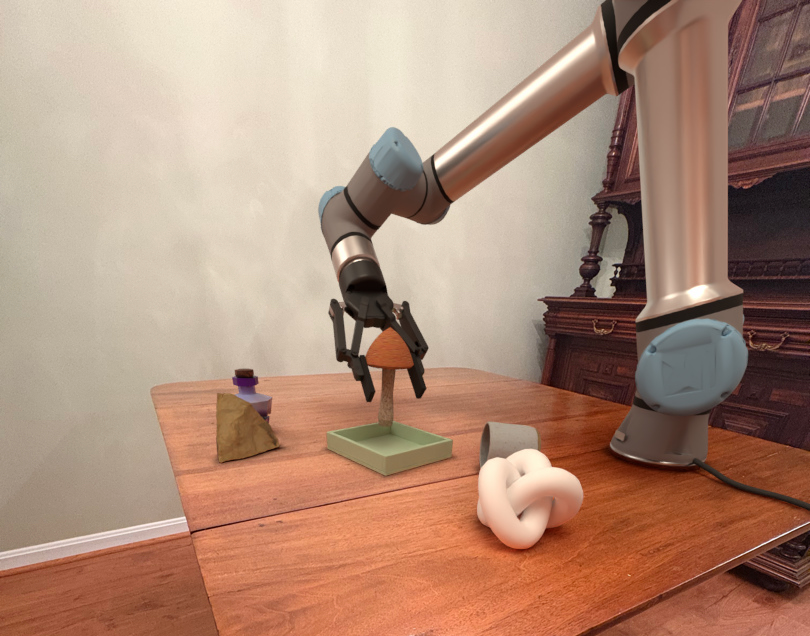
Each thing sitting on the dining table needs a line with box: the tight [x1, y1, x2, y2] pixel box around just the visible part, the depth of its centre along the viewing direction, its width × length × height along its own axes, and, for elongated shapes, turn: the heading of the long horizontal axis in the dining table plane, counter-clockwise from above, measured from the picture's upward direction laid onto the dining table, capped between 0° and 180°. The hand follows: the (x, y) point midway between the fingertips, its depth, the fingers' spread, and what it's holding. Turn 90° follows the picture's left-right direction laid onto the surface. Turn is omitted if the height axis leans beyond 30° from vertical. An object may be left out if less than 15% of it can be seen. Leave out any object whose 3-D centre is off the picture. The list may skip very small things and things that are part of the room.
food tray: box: [325, 420, 454, 477], centre depth 73 cm, size 17×15×3 cm
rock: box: [215, 392, 281, 464], centre depth 71 cm, size 11×9×10 cm
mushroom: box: [365, 327, 414, 427], centre depth 68 cm, size 8×8×15 cm
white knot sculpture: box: [476, 449, 584, 550], centre depth 48 cm, size 11×12×9 cm
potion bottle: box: [231, 368, 273, 424], centre depth 79 cm, size 9×9×12 cm
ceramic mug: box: [478, 420, 542, 469], centre depth 67 cm, size 11×8×8 cm
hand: (396, 395), depth 66 cm, fingers closed on mushroom, 8 cm apart
